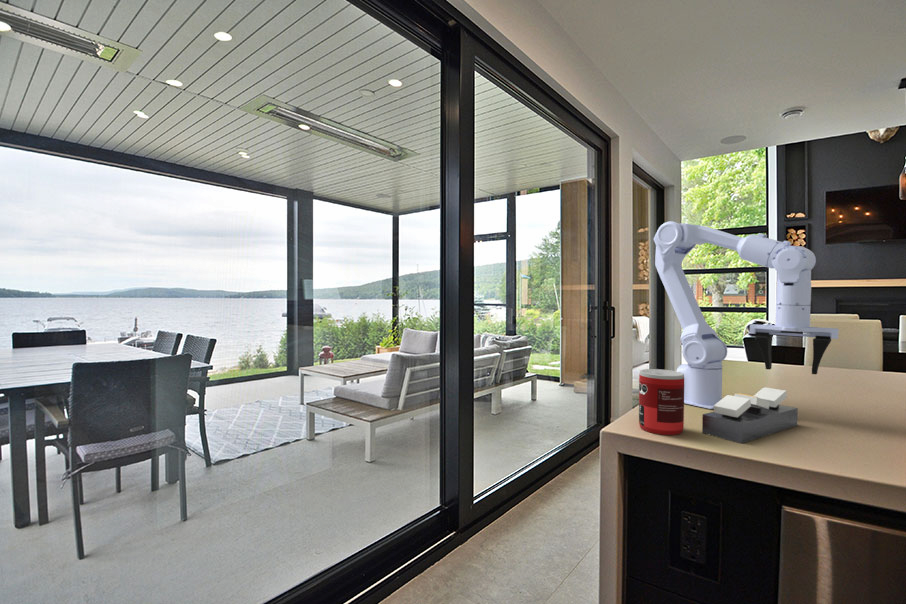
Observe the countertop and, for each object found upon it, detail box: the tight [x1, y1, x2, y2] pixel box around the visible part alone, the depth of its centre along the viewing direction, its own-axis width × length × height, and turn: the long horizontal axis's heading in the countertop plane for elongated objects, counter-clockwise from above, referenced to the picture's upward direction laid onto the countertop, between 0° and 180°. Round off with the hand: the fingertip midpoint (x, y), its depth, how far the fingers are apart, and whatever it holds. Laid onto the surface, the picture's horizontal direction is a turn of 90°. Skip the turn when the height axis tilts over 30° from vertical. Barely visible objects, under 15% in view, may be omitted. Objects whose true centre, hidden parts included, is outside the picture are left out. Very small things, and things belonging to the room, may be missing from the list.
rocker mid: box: [733, 392, 770, 409], centre depth 88 cm, size 4×5×2 cm
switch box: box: [701, 404, 799, 444], centre depth 90 cm, size 7×27×4 cm, turn 122°
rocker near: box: [713, 394, 751, 417], centre depth 85 cm, size 4×5×1 cm
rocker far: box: [753, 386, 788, 407], centre depth 92 cm, size 4×5×1 cm
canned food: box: [638, 368, 685, 436], centre depth 88 cm, size 8×8×11 cm
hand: (790, 371), depth 95 cm, fingers open, 7 cm apart
